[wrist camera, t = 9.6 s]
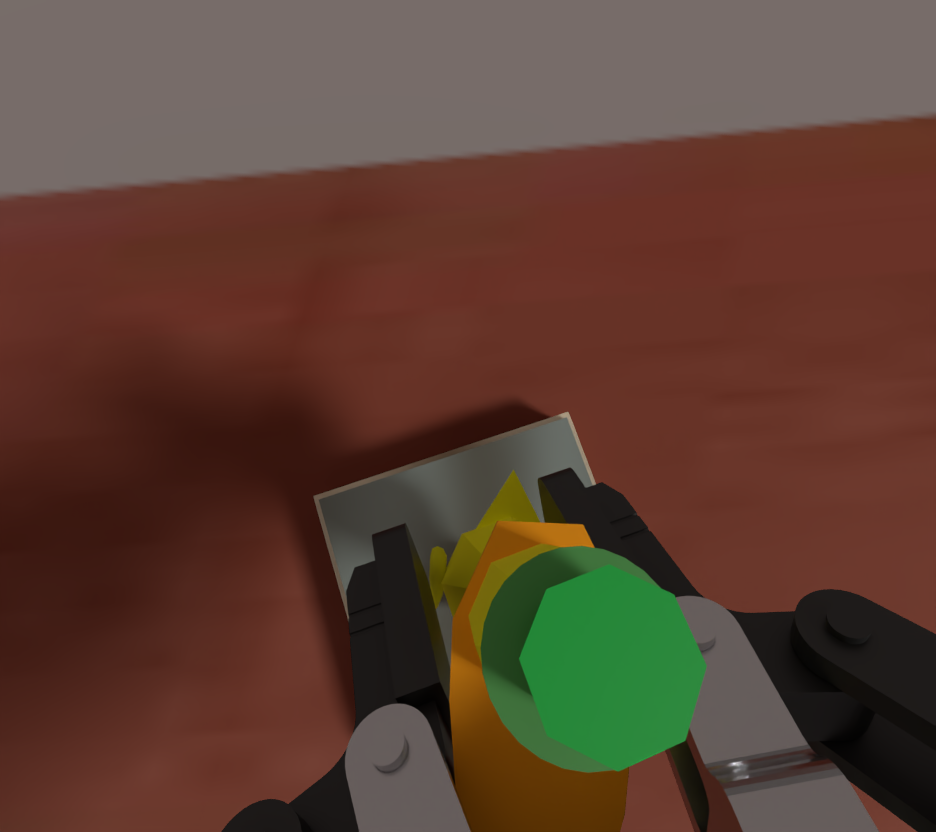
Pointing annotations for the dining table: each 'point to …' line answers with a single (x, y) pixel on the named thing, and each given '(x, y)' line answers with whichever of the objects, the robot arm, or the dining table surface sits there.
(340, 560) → the stand
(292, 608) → the dining table surface
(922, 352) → the dining table surface
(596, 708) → the toy figure
